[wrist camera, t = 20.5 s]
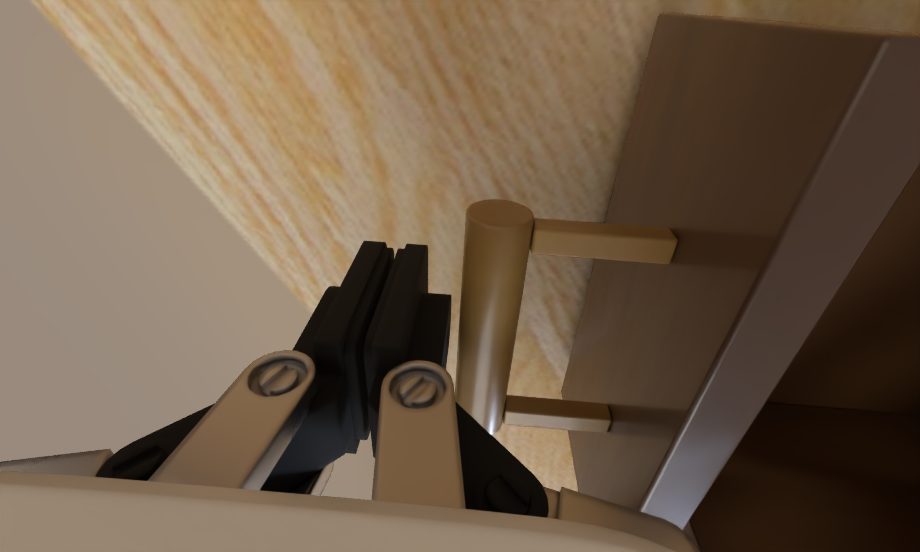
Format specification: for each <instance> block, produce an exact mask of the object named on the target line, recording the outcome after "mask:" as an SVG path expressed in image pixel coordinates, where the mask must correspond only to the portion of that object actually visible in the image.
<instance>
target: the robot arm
mask: <svg viewBox="0 0 920 552" xmlns="http://www.w3.org/2000/svg"><path fill="white" fill-rule="evenodd" d="M450 322H451V295H446V294H432V293H428V246H427V245H417V244H406V247H405V249H398V251H397V253H396V256H395V259H394V250H393V248H387V245H386V243H385V242H374V241H364V242H363V244H362V245H361V247H360V249H359V251H358V253H357V255H356V257H355V259H354V261H353V263H352V265H351V267H350V269H349V271H348V272H347V274H346V276H345V278H344V280H343V282H342V284H341V286H340V287H336V286H330V287H328V288H327V290H326V291H325V293H324V295H323V297H322V298H321V300H320V302H319V304H318V305H317V307H316V309H315V311H314V313H313V314H312V316H311V318H310V320H309V322H308V324H307V325H306V327H305V329H304V330H303V332H302V334H301V336H300V338H299V339H298V341H297V343H296V345H295V347H294V348H293V350H292V351H291V350H284V351H277V352H273V353H270V354H267V355H264V356H262V357H260V358H259V359H257V360H255V361H253V362H252V363H251V364H250V365H249V366H248V367H247V368H246V369H245V370H244V371H243V372H242V373H241V374H240V376H239V377H238V378H237V379H236V380H235V381H234V382H233V384H232V385H231V386H230V387H229V388H228V389H227V391H225V393H224V394H223V395H222V396H221V397H220V398H219V399H218V401H217V402H216V403H215V404H213V405H211V406H208V407H206V408H204V409H202V410H200V411H198V412H196V413H193V414H192V415H189V416H187V417H185V418H183V419H181V420H179V421H176V422H174V423H172V424H170V425H168V426H166V427H164V428H162V429H160V430H157V431H155V432H153V433H151V434H149V435H147V436H145V437H143V438H140V439H138V440H136V441H134V442H132V443H131V444H129V445H127V446H125V447H124V448H122V449H120V450H119V451H118V452H117V453H115V454H113V452H112V451H111V450H110V449H105V450H96V451H87V452H80V453H70V454H62V455H54V456H45V457H37V458H28V459H20V460H11V461H4V462H0V552H700V551H699V550H698V548H697V547H696V545H695V544H694V542H693V541H692V540H691V538H690V537H689V536H688V535H687V534H686V533H685V532H684V531H683V530H681V529H680V528H679V527H678V526H677V525H675V524H673V523H671V522H669V521H667V520H665V519H663V518H660V517H657V516H654V515H650V514H647V513H644V512H641V511H638V510H634V509H631V508H628V507H625V506H621V505H618V504H615V503H612V502H609V501H605V500H602V499H599V498H596V497H592V496H589V495H586V494H583V493H580V492H576V491H573V490H570V489H567V488H564V487H561V490H560V492H559V491H555V490H552V489H549V488H546V487H543V486H542V484H541V483H540V482H539V481H538V479H537V478H536V477H535V476H534V475H533V474H532V473H531V472H530V471H529V470H528V469H527V468H526V467H525V466H524V465H523V464H522V463H521V462H520V461H519V460H517V459H516V458H515V457H514V456H513V455H512V454H511V453H510V452H509V451H508V450H507V449H506V448H505V447H504V446H503V445H501V444H500V443H499V442H498V441H497V440H496V439H495V438H494V437H493V436H492V435H491V434H490V433H489V432H488V431H487V430H486V429H484V428H483V427H482V426H481V425H480V424H479V423H478V422H477V421H476V420H475V419H474V418H473V417H472V416H471V415H470V414H469V413H467V412H466V411H465V410H464V409H463V408H462V407H461V406H460V405H459V404H458V403H457V402H456V401H455V394H454V384H453V381H452V378H451V376H450V375H449V373H448V372H447V371H446V363H447V355H448V347H449V336H450ZM370 430H371V439H372V448H373V456H374V458H375V466H374V467H375V468H374V478H373V490H372V500H362V499H351V498H340V497H328V496H321V494H322V492H323V490H324V488H325V486H326V483H327V482H328V480H329V478H330V475H331V472H332V470H333V461H335V460H336V459H338V458H339V457H341V456H342V455H344V454H345V453H353V454H354V453H355V454H356V452H357V448H358V445H359V442H360V440H367V439H368V436H369V433H370Z"/></svg>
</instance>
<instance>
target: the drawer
mask: <svg viewBox="0 0 920 552" xmlns="http://www.w3.org/2000/svg"><path fill="white" fill-rule="evenodd" d="M529 249H530V250H531V253H532V254H539V255H552V256H566V257H579V258H592V259H595V263H594V266H593V270H592V274H591V278H590V282H589V286H588V290H587V294H586V297H585V301H584V305H583V309H582V313H581V317H580V321H579V325H578V328H577V332H576V336H575V340H574V344H573V348H572V352H571V355H570V359H569V363H568V367H567V371H566V375H565V379H564V383H563V386H562V390H561V392H562V398H563V400H559V399H547V398H536V397H524V396H512V395H507V388H508V382H509V376H510V369H511V363H512V357H513V350H514V344H515V338H516V331H517V325H518V319H519V312H520V306H521V300H522V294H523V287H524V281H525V275H526V268H527V262H528V256H529ZM455 401H456V402H457V403H458V404H459V405H460V406H461V407H462V408H463V409H464V410H465V411H466V412H467V413H469V414H470V415H471V416H472V417H473V418H474V419H475V420H476V421H477V422H478V423H479V424H480V425H481V426H482V427H483V428H484V429H486V430H487V431H488V432H489V433H490V434H491V435H494V434H495V433H496V432H497V431H498V430H499V429H500V427H501V425H502V420H503V423H504V424H505V425H517V426H528V427H540V428H551V429H563V430H568V433H569V439H570V445H571V451H572V457H573V463H574V469H575V474H576V480H577V486H578V492H580V493H583V494H586V495H589V496H592V497H596V498H599V499H602V500H605V501H609V502H612V503H615V504H618V505H621V506H625V507H628V508H631V509H634V510H638V511H641V512H644V513H647V514H650V515H654V516H657V517H660V518H663V519H665V520H667V521H669V522H671V523H673V524H675V525H677V526H678V527H679V528H680V529H681V530H683V531H684V532H685V533H686V534H687V535H688V536H689V537H690V538H691V540H692V541H693V542H694V544H695V545H696V547H697V548H698V550H699V551H700V552H920V34H918V33H907V32H895V31H884V30H872V29H861V28H849V27H838V26H826V25H815V24H803V23H792V22H780V21H769V20H757V19H746V18H734V17H723V16H711V15H697V14H680V13H661V14H660V15H659V16H658V19H657V23H656V27H655V31H654V34H653V38H652V42H651V46H650V50H649V54H648V58H647V62H646V65H645V69H644V73H643V77H642V81H641V85H640V89H639V92H638V96H637V100H636V104H635V108H634V112H633V116H632V120H631V123H630V127H629V131H628V135H627V139H626V143H625V147H624V150H623V154H622V158H621V162H620V166H619V170H618V174H617V178H616V181H615V185H614V189H613V193H612V197H611V201H610V205H609V208H608V212H607V216H606V220H605V223H592V222H578V221H565V220H551V219H537V218H535V219H534V216H533V213H532V211H531V210H530V209H528V208H527V207H525V206H523V205H521V204H519V203H516V202H512V201H507V200H483V201H479V202H476V203H474V204H472V205H470V206H469V208H468V209H467V212H466V223H465V239H464V256H463V272H462V288H461V304H460V320H459V336H458V352H457V368H456V385H455Z"/></svg>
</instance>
